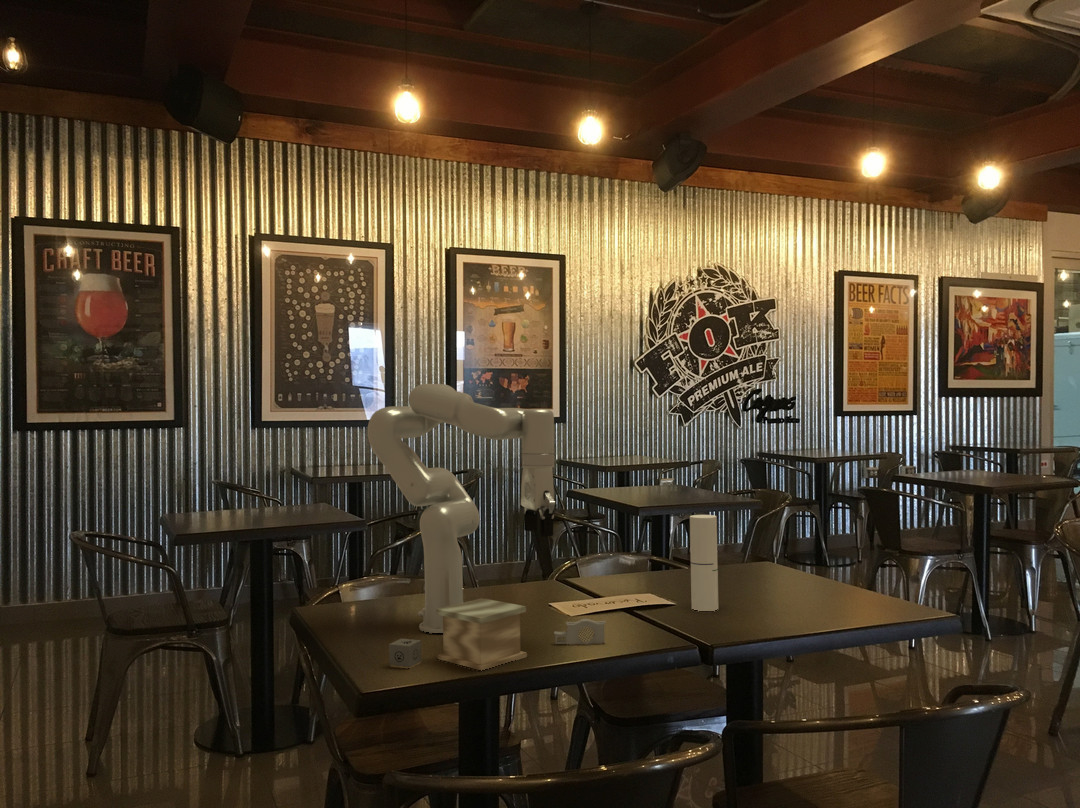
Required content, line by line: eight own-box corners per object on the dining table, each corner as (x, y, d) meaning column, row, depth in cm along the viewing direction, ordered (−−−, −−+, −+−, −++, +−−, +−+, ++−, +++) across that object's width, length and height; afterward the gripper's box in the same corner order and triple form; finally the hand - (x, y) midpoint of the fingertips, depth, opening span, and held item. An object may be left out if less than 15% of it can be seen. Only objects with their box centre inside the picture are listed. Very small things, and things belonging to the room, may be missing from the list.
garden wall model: (554, 645, 208) (554, 620, 208) (554, 643, 210) (553, 618, 210) (606, 644, 208) (605, 618, 208) (605, 642, 210) (604, 617, 210)
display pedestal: (437, 659, 197) (436, 609, 198) (482, 646, 208) (482, 598, 208) (481, 671, 188) (480, 618, 188) (527, 656, 198) (526, 606, 198)
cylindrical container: (686, 607, 244) (685, 515, 244) (710, 605, 246) (708, 514, 246) (699, 612, 237) (697, 518, 237) (723, 610, 240) (721, 517, 240)
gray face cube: (409, 669, 191) (409, 646, 191) (389, 667, 193) (389, 644, 193) (421, 663, 195) (421, 640, 195) (401, 661, 197) (401, 638, 197)
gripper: (510, 459, 219) (510, 529, 219) (537, 463, 203) (537, 539, 203) (538, 458, 221) (539, 527, 221) (567, 462, 205) (567, 537, 205)
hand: (538, 533), depth 212 cm, fingers open, 9 cm apart
